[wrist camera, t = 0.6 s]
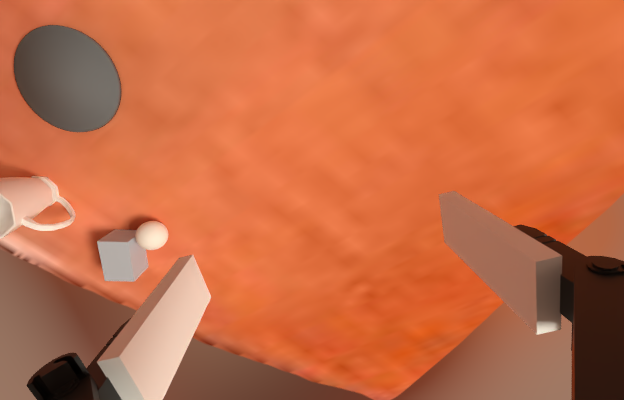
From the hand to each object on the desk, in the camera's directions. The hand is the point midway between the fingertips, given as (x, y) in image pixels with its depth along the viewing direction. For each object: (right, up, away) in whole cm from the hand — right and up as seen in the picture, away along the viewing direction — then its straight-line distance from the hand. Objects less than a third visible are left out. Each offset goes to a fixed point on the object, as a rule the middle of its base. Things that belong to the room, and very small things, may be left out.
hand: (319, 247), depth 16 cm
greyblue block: (-27, -5, +28) cm, 39 cm away
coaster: (-30, +17, +21) cm, 40 cm away
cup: (-36, +3, +26) cm, 44 cm away
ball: (-23, -2, +27) cm, 36 cm away
